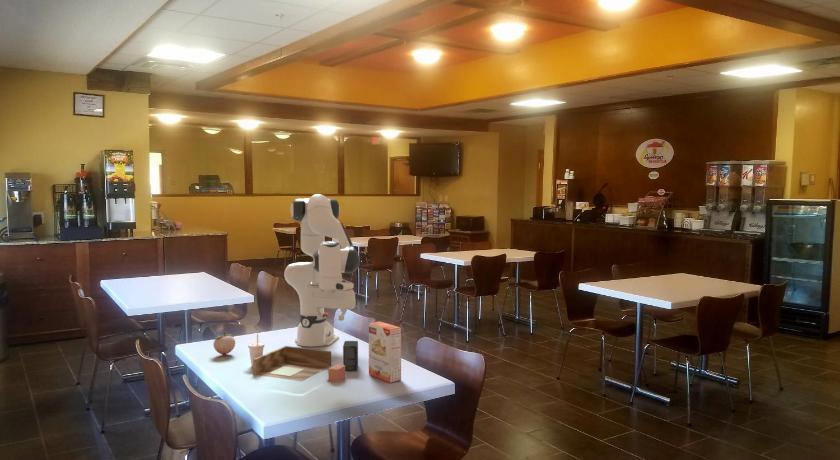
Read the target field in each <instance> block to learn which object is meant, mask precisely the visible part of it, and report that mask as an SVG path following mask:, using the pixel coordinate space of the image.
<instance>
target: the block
mask: <svg viewBox="0 0 840 460" xmlns="http://www.w3.org/2000/svg"><path fill="white" fill-rule="evenodd" d="M327 369H328V377H327V378H328V382H331V383H339V382H341V381H343V380H344V379H346V371H345V370H346V369H345V365H343V364H335V365H333V366H332V365H331V366H330V367H328V368H327Z"/></svg>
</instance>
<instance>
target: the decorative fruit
mask: <svg viewBox="0 0 840 460" xmlns="http://www.w3.org/2000/svg"><path fill="white" fill-rule="evenodd" d="M223 333H224V334H223V335H218V336H216V337H215V338H214V340H213V348H214V350H215V351H216V353H218V354H220V355H222V356H226V355H228V354H229V353H231V352H233V350H234V349H235V347H236V340H235V338H234V337H235V336H234V335H233V334H230V333H228V334H226V333H225V332H223Z"/></svg>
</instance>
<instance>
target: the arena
mask: <svg viewBox="0 0 840 460" xmlns="http://www.w3.org/2000/svg"><path fill="white" fill-rule="evenodd" d="M283 366H285V367H293V368H300V369H305V370H303V371H301V372H299V373H297V374H295V375H293V376H291V377H289V376H282V375H275V374H269V373H270V372H272V371H274V370H277V369H279V368H281V367H283ZM330 367H332V350H323V349H316V348H307V347H298V346H297V347H296V346H290V345H284V346H282V347H279V348H277V349H275V350H272V351H270V352H267V353H265V354H263V355H262V356H260V357H257V358H255V359H253V367H252V368H253V375H255V376H262V377H268V378H269V377H270V378H276V379H285V380H290V381H291V380H292V381H296V382H297V381H299V382H303V381H305V380H306V379H309V378H311V377H313V376H314V375H317V374H318V373H320V372H322V371H324V370H326V369H329V368H330Z"/></svg>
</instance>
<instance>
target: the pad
mask: <svg viewBox="0 0 840 460" xmlns="http://www.w3.org/2000/svg"><path fill="white" fill-rule="evenodd" d="M303 370H305V369H300V368H293V367H285V366H283V367H281V368H279V369H277V370H274V371H272V372H270V373H269V374H275V375H282V376H289V377H291V376H293V375H295V374H297V373H299V372H301V371H303Z"/></svg>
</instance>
